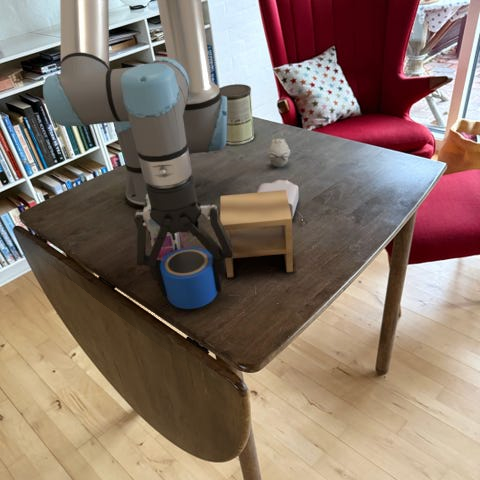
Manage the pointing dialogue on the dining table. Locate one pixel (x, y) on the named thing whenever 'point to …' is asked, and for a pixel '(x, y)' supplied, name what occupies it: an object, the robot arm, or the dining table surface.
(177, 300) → the tape roll
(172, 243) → the candy bar box
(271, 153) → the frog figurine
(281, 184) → the charger
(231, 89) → the coffee can
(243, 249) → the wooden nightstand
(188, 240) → the dining table surface
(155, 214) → the robot arm
